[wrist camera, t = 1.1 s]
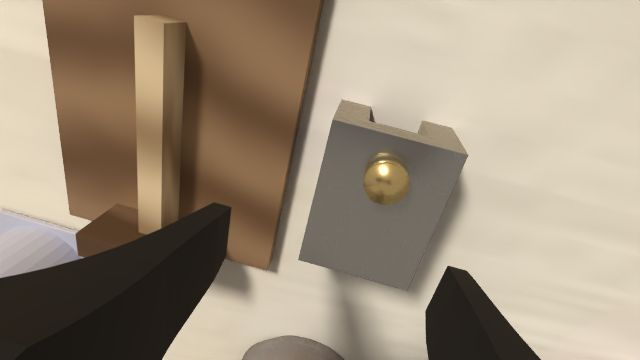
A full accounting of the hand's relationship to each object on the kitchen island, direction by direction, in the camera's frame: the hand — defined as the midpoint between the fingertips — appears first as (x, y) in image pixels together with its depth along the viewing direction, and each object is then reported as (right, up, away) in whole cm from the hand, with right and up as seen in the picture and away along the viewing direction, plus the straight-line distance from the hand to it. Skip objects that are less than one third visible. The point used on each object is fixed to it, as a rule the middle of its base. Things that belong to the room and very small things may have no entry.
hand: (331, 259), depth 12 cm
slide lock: (+3, +3, +9) cm, 10 cm away
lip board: (-8, +8, +8) cm, 14 cm away
